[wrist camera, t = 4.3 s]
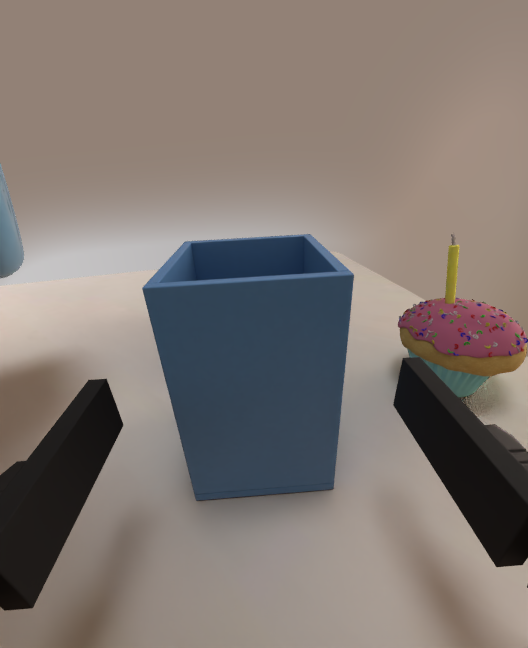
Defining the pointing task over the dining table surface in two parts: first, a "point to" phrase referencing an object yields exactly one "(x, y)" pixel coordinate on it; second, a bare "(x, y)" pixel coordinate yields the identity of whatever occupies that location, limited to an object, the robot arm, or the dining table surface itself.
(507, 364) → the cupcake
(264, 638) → the dining table surface
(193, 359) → the lone bin
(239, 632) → the dining table surface
